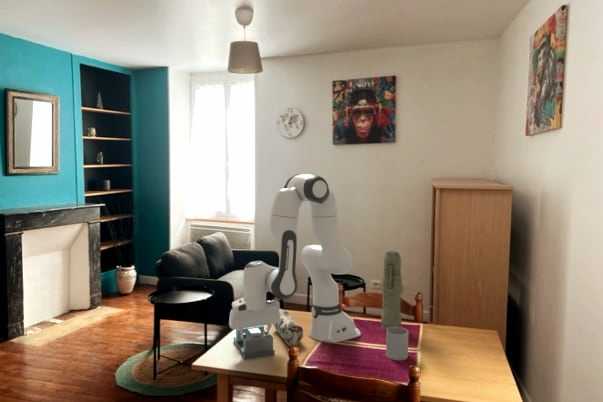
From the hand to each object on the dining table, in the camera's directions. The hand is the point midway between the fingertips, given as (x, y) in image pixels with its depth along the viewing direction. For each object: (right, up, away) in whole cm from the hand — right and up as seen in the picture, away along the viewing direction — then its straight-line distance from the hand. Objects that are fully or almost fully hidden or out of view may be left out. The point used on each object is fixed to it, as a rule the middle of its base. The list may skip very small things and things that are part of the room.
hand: (255, 336), depth 174 cm
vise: (-1, -6, +2) cm, 6 cm away
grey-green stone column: (+59, -4, +25) cm, 64 cm away
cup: (+56, -7, -4) cm, 56 cm away
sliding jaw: (-3, -3, +7) cm, 8 cm away
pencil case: (+12, -5, +15) cm, 20 cm away
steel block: (0, -4, 0) cm, 4 cm away
